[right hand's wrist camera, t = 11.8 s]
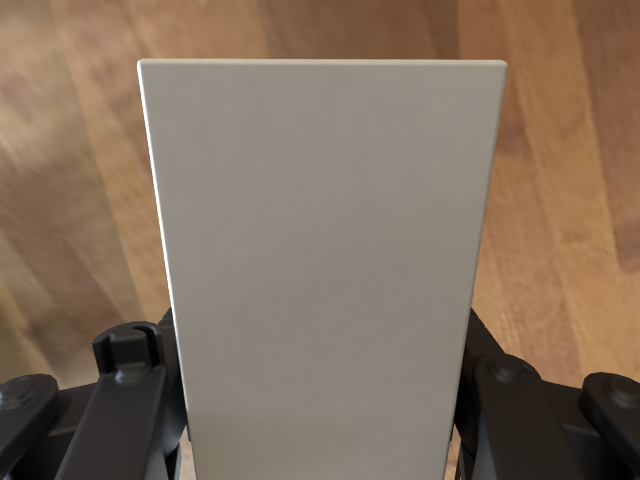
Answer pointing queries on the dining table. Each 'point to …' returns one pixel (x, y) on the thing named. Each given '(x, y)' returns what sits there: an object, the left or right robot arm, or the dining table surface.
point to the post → (321, 255)
